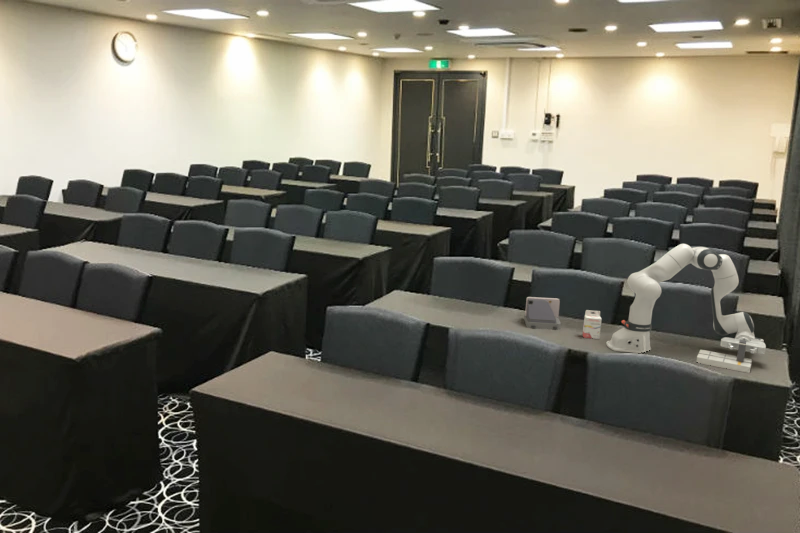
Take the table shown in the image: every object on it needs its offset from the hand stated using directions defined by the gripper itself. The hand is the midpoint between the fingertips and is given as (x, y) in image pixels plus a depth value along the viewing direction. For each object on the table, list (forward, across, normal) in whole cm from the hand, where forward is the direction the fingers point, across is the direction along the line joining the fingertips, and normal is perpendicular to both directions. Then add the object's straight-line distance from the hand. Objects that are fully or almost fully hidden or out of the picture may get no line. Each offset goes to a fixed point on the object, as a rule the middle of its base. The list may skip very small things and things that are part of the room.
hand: (741, 349), depth 338 cm
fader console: (-1, -7, +9) cm, 11 cm away
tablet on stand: (-10, -104, +9) cm, 105 cm away
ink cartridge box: (-3, -74, +9) cm, 75 cm away
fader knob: (-1, 0, +8) cm, 8 cm away
